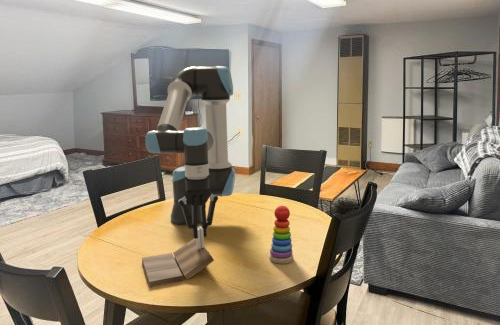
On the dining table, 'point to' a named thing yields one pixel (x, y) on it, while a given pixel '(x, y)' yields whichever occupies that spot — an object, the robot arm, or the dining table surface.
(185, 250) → the plank
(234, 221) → the dining table surface
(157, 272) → the panel
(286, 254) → the stacking toy
